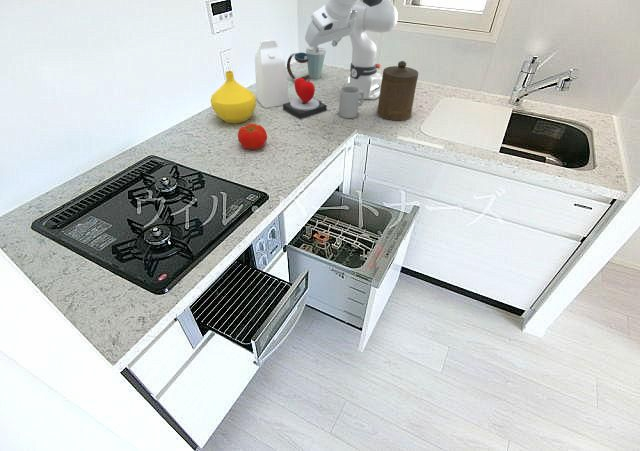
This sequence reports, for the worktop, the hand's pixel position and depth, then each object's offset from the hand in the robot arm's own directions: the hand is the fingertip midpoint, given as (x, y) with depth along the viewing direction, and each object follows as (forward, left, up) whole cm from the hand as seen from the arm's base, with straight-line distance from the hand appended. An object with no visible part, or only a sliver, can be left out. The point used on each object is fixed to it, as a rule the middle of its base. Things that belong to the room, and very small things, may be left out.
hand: (324, 48), depth 127 cm
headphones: (-21, -40, -29) cm, 53 cm away
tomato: (+35, +1, -29) cm, 46 cm away
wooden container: (-30, +15, -29) cm, 44 cm away
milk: (+5, -30, -29) cm, 42 cm away
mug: (-15, +3, -29) cm, 32 cm away
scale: (-1, -13, -28) cm, 31 cm away
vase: (+28, -24, -29) cm, 47 cm away
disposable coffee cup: (-33, -44, -29) cm, 62 cm away
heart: (0, -13, -25) cm, 29 cm away
